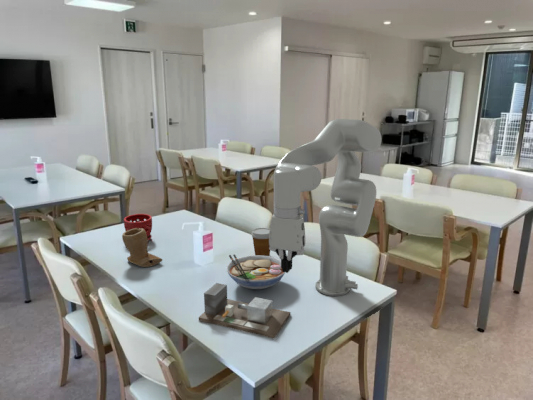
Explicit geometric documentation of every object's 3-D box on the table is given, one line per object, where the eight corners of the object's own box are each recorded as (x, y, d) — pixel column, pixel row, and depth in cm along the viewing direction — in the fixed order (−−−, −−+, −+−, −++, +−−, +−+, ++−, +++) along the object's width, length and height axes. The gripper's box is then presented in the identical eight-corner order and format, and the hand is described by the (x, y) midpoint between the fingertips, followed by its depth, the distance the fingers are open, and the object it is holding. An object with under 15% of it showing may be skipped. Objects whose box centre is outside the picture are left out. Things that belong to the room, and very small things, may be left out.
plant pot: (120, 241, 200) (117, 218, 197) (141, 234, 211) (140, 212, 208) (137, 247, 193) (135, 223, 190) (159, 239, 204) (157, 216, 201)
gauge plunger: (272, 314, 131) (272, 300, 130) (265, 324, 126) (265, 309, 125) (243, 308, 135) (242, 294, 134) (234, 317, 130) (234, 303, 129)
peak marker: (233, 313, 132) (233, 305, 131) (226, 321, 128) (225, 313, 127) (228, 312, 133) (227, 304, 132) (220, 320, 128) (220, 311, 128)
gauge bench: (290, 315, 134) (290, 292, 131) (274, 338, 121) (274, 313, 119) (220, 300, 143) (219, 279, 141) (198, 320, 131) (197, 297, 129)
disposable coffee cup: (248, 259, 179) (247, 233, 176) (256, 251, 188) (256, 226, 184) (268, 262, 176) (268, 235, 172) (276, 254, 184) (276, 228, 181)
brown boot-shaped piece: (119, 262, 176) (116, 229, 172) (144, 254, 184) (142, 222, 181) (138, 272, 166) (134, 237, 162) (163, 264, 174) (161, 230, 170)
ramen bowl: (297, 295, 147) (297, 274, 144) (234, 305, 140) (233, 283, 138) (275, 268, 170) (275, 249, 168) (221, 275, 163) (220, 255, 161)
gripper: (315, 210, 118) (314, 269, 123) (267, 205, 124) (268, 262, 128) (308, 218, 111) (306, 280, 116) (257, 212, 117) (258, 271, 122)
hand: (286, 270), depth 122 cm, fingers closed
